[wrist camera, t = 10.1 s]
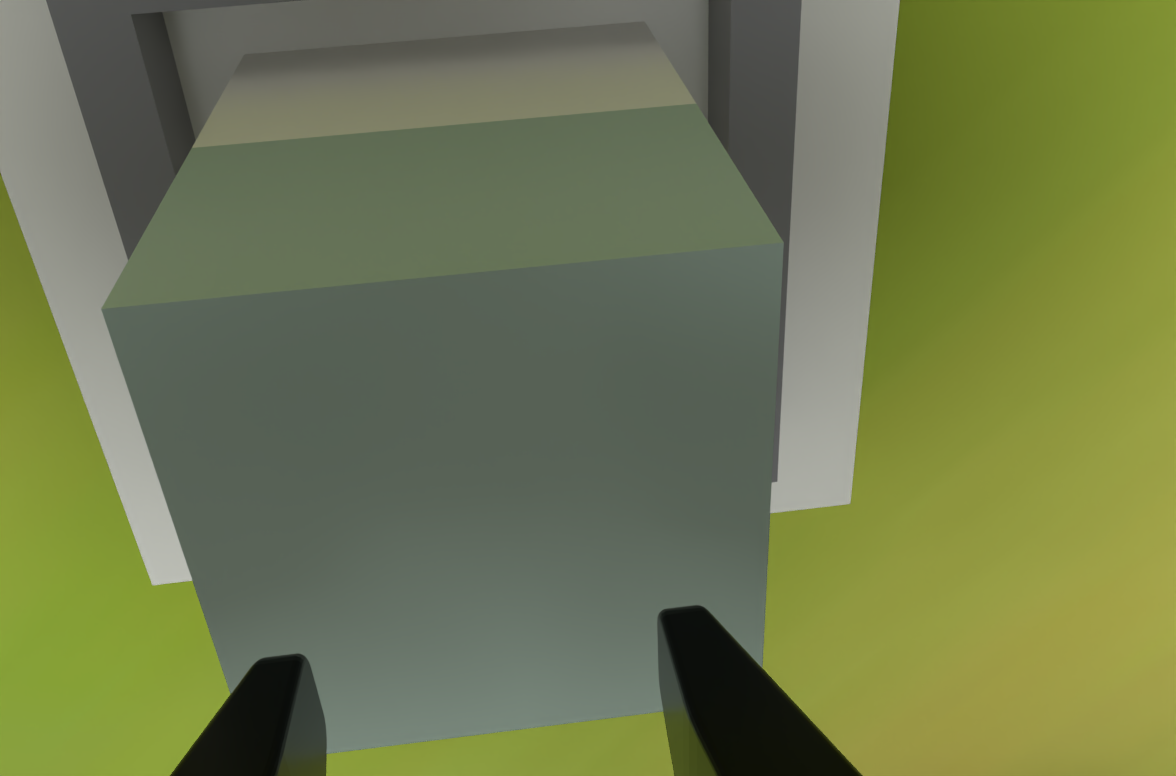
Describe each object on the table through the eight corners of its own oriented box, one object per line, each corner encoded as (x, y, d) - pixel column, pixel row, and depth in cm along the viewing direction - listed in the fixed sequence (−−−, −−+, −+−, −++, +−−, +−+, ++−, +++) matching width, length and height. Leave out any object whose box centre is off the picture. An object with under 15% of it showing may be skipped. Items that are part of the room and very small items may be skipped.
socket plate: (898, -311, 16) (976, -312, 13) (832, 468, 23) (875, 552, 21) (-111, -244, 15) (-212, -234, 12) (165, 544, 22) (134, 640, 20)
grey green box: (644, 20, 16) (783, 242, 10) (652, 358, 20) (761, 699, 13) (243, 54, 16) (101, 309, 9) (319, 393, 19) (254, 763, 13)
